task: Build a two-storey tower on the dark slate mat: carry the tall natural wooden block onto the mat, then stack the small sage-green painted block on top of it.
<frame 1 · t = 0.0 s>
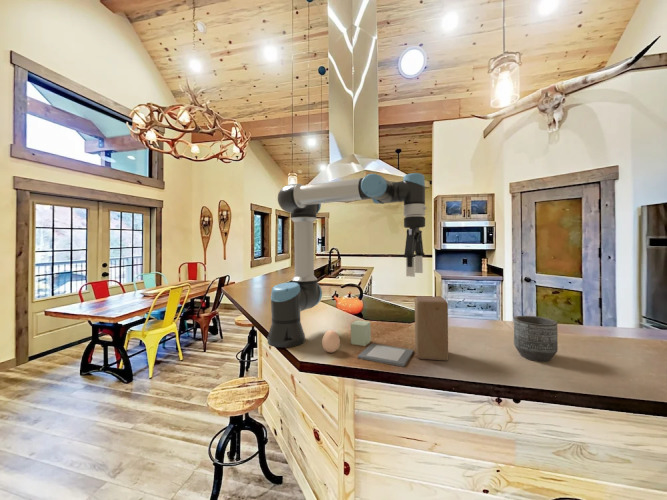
hand: (414, 274, 103), 28 cm above the table, fingers open, 13 cm apart
planter: (534, 357, 96), on the table
sage block: (360, 342, 113), on the table
slate mat: (386, 355, 100), on the table
wooden block: (430, 355, 99), on the table
egg: (331, 352, 103), on the table
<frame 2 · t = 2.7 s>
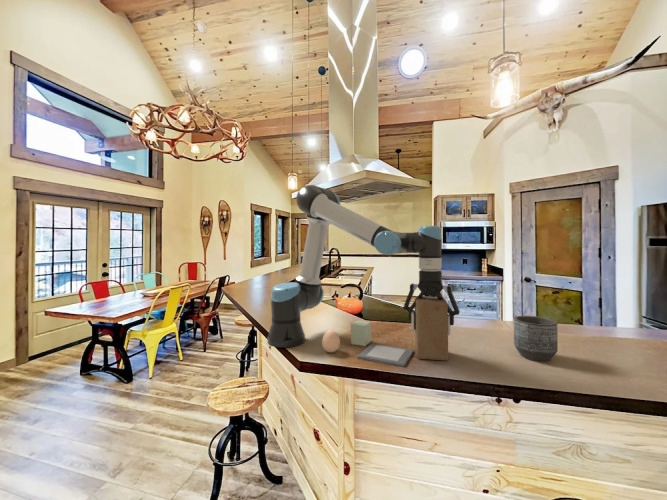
hand: (430, 331, 99), 8 cm above the table, fingers closed on wooden block, 11 cm apart
wooden block: (430, 355, 99), on the table, touching gripper
everything else where it was.
when the fingers open (10 cm above the table, at t = 8.6 s): wooden block drops 1 cm, resting on slate mat.
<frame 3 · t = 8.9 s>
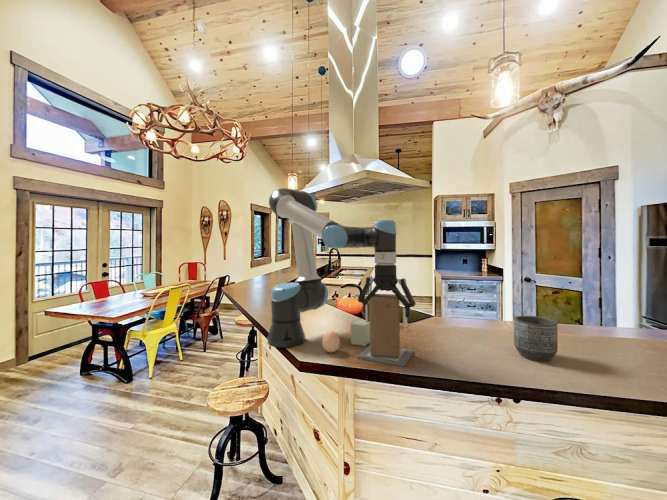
hand: (386, 324, 99), 11 cm above the table, fingers open, 13 cm apart
wooden block: (385, 352, 100), point 1 cm above the table, touching slate mat
everything else where it was.
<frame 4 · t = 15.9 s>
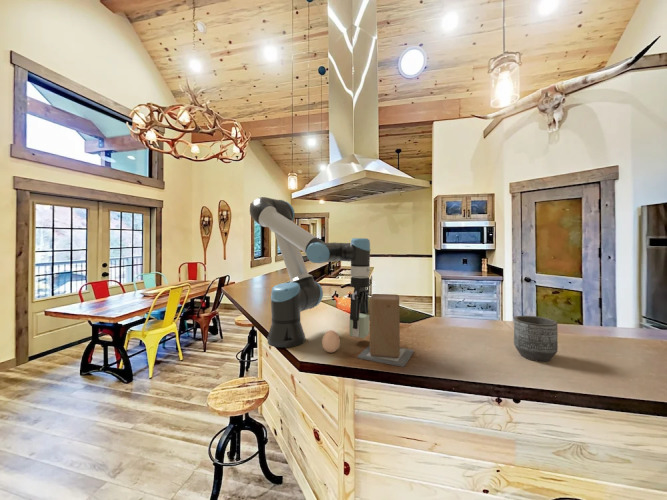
hand: (359, 333, 113), 3 cm above the table, fingers closed on sage block, 6 cm apart
sage block: (359, 334, 113), point 3 cm above the table, touching gripper
everything else where it was.
when the fingers open (21 cm above the table, at t = 20.5 s): sage block stays where it is, resting on wooden block.
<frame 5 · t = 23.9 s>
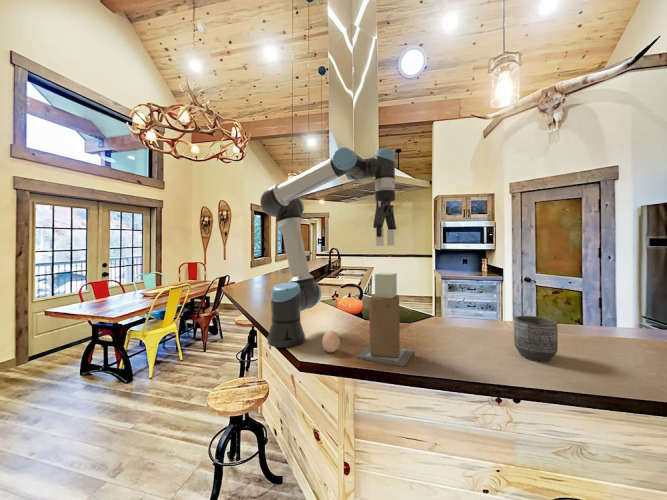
hand: (385, 245, 109), 39 cm above the table, fingers open, 13 cm apart
sage block: (386, 296, 99), point 21 cm above the table, touching wooden block
wooden block: (385, 352, 100), point 1 cm above the table, touching sage block, slate mat
everything else where it was.
at the end: wooden block inside the target area on the slate mat (0.4 cm from its centre), point 0.7 cm above the slate mat's base; sage block 0.5 cm from the wooden block (horizontally); sage block point 20.9 cm above the table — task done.
